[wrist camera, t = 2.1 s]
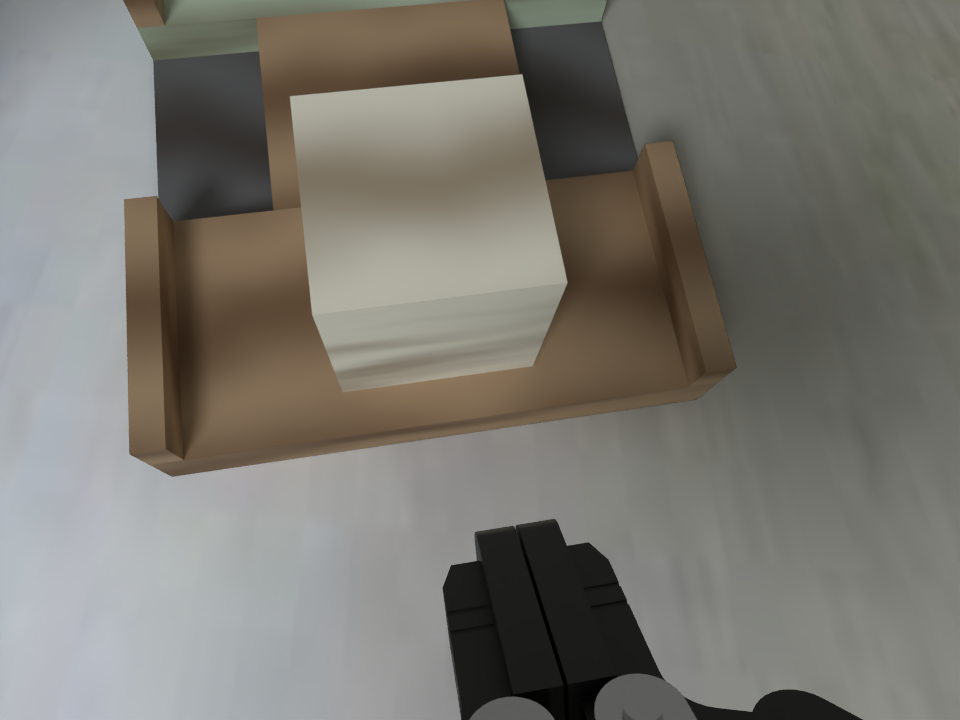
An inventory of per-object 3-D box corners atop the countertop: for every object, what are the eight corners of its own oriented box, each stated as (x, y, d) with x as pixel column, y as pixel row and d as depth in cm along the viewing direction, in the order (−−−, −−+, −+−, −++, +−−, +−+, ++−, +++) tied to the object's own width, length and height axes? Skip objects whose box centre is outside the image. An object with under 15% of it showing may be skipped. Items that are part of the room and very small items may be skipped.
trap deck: (696, 399, 32) (747, 358, 27) (172, 476, 30) (118, 448, 25) (557, -135, 42) (574, -240, 37) (149, -109, 40) (107, -218, 34)
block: (532, 366, 30) (567, 282, 22) (342, 392, 29) (312, 314, 21) (500, 201, 32) (522, 74, 25) (323, 220, 31) (289, 96, 24)
